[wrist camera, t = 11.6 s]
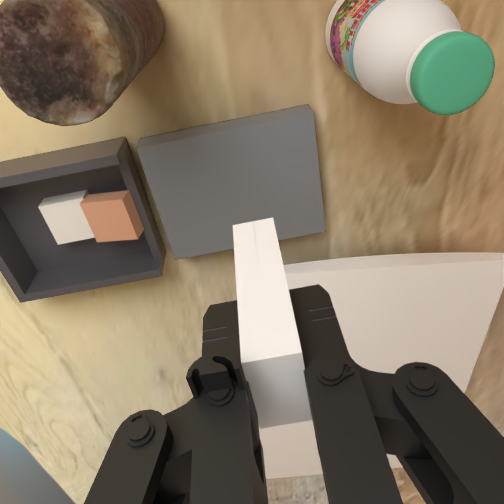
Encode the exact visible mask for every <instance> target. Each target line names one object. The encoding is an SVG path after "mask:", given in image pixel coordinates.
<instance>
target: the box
mask: <svg viewBox="0 0 504 504" xmlns="http://www.w3.org/2000/svg"><path fill="white" fill-rule="evenodd" d="M83 190H88V193H89V194H97V193H107V192H116V191H126V190H129V191H130V193H131V196H132V199H133V201H134V204H135V207H136V209H137V212H138V215H139V217H140V220H141V222H142V225H143V228H144V230H143V232H142V233H141V235H140V237H139V238H138V239H134V240H121V241H108V242H97V241H96V239H95V238H90V239H85V240H79V241H74V242H69V243H64V244H59V245H58V244H57V242H56V240H55V238H54V236H53V234H52V232H51V231H50V229H49V227H48V225H47V223H46V221H45V219H44V217H43V215H42V213H41V211H40V210H39V208H38V206H39V205H40V203H41V202H42V201H43V199H44V198H48V197H53V196H58V195H63V194H68V193H73V192H78V191H83ZM165 255H166V250H165V247H164V245H163V242H162V239H161V236H160V233H159V231H158V228H157V225H156V222H155V219H154V217H153V214H152V211H151V208H150V205H149V202H148V200H147V197H146V194H145V191H144V188H143V186H142V183H141V180H140V177H139V174H138V172H137V169H136V166H135V163H134V160H133V158H132V155H131V152H130V149H129V146H128V143H127V141H126V138H125V137H121V138H116V139H111V140H106V141H101V142H96V143H91V144H86V145H81V146H77V147H72V148H67V149H62V150H57V151H52V152H47V153H42V154H37V155H32V156H27V157H23V158H18V159H13V160H8V161H3V162H0V271H1V273H2V274H3V276H4V277H5V279H6V281H7V282H8V284H9V285H10V287H11V289H12V290H13V292H14V293H15V295H16V296H17V298H18V300H19V301H20V303H21V302H26V301H32V300H37V299H42V298H48V297H53V296H58V295H64V294H69V293H74V292H80V291H85V290H90V289H95V288H101V287H106V286H111V285H117V284H122V283H127V282H133V281H138V280H143V279H149V278H154V277H159V276H162V273H163V267H164V261H165Z"/></svg>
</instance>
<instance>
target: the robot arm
mask: <svg viewBox="0 0 504 504" xmlns="http://www.w3.org/2000/svg"><path fill="white" fill-rule="evenodd" d="M233 239H234V255H235V272H236V288H237V300H236V301H230V302H225V303H219V304H214V305H210V306H209V308H208V310H207V312H206V313H205V315H204V317H203V343H202V357H201V358H199V359H198V360H196V361H195V362H194V363H193V364H192V365H191V367H190V368H189V369H188V373H187V376H186V379H187V382H188V384H189V387H190V389H191V392H192V394H193V396H194V397H193V398H192V399H191V400H190V401H189V402H187V403H186V404H185V405H183V406H181V407H180V408H178V409H176V410H174V411H172V412H169V413H167V414H165V415H162V414H161V413H160V412H158V411H154V410H143V411H139V412H137V413H135V414H133V415H130V416H129V417H128V418H127V419H126V420H125V421H124V422H122V424H121V425H120V427H119V428H118V430H117V431H116V433H115V435H114V438H113V440H112V442H111V444H110V447H109V449H108V451H107V453H106V455H105V458H104V460H103V462H102V464H101V467H100V469H99V471H98V473H97V475H96V478H95V480H94V482H93V484H92V487H91V489H90V491H89V493H88V495H87V498H86V500H85V502H84V504H268V496H267V486H266V476H265V465H264V455H263V447H262V444H261V440H260V436H259V427H260V429H262V428H268V427H274V426H280V425H286V424H292V423H298V422H303V421H309V420H313V425H314V431H315V437H316V442H317V448H318V454H319V457H320V462H321V467H322V472H323V477H324V481H325V486H326V491H327V496H328V501H329V504H403V502H402V499H401V496H400V493H399V490H398V487H397V484H396V481H395V478H394V475H393V472H392V469H391V466H390V463H389V460H388V457H387V454H390V455H396V457H397V459H398V460H399V462H400V463H401V465H402V466H403V468H404V470H405V471H406V473H407V474H408V476H409V477H410V479H411V480H412V482H413V484H414V485H415V487H416V488H417V490H418V491H419V493H420V494H421V496H422V498H423V499H424V501H425V502H426V504H504V437H503V436H502V435H501V434H500V433H499V432H498V430H497V429H496V428H495V427H494V426H493V425H492V424H491V423H490V422H489V421H488V419H487V418H486V417H485V416H484V415H483V414H482V413H481V412H480V411H479V409H478V408H477V407H476V406H475V405H474V404H473V403H472V402H471V401H470V399H469V398H468V397H467V396H466V395H465V394H464V393H463V392H462V391H461V390H460V388H459V387H458V386H457V385H456V384H455V383H454V382H453V381H452V380H451V378H450V377H449V376H448V375H447V374H446V373H445V372H443V371H442V370H441V369H440V368H438V367H436V366H434V365H431V364H429V363H424V362H412V363H407V364H404V365H403V366H401V367H400V368H398V369H397V370H396V372H395V374H392V373H382V372H375V371H370V370H368V369H365V368H363V367H361V366H360V365H358V364H357V363H356V362H355V361H354V360H353V359H352V358H351V356H350V354H349V352H348V349H347V346H346V343H345V340H344V337H343V334H342V331H341V328H340V325H339V322H338V319H337V317H336V313H335V310H334V308H333V304H332V301H331V298H330V295H329V293H328V292H327V291H326V290H325V289H324V288H323V287H322V286H320V285H319V284H317V285H311V286H306V287H301V288H295V289H290V290H289V289H288V285H287V280H286V275H285V271H284V266H283V262H282V257H281V252H280V248H279V243H278V238H277V234H276V229H275V224H274V220H273V218H268V219H262V220H257V221H252V222H247V223H242V224H236V225H233Z"/></svg>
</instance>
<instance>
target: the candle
mask: <svg viewBox="0 0 504 504" xmlns="http://www.w3.org/2000/svg"><path fill="white" fill-rule="evenodd" d="M163 33H164V20H163V14H162V11H161V8H160V6H159V5H158V2H157V0H4V1H3V3H2V4H1V5H0V87H1V88H2V90H3V91H4V92H5V94H6V95H7V97H8V98H9V99H10V100H11V101H12V102H13V103H14V104H15V105H16V106H17V107H18V108H20V109H21V110H22V111H24V112H25V113H26V114H27V115H28V116H31V117H34V118H36V119H39V120H40V121H43V122H45V123H50V124H55V125H60V126H71V125H79V124H83V123H87V122H90V121H92V120H94V119H96V118H98V117H100V116H101V115H102V114H104V113H105V112H106V111H107V110H108V109H109V108H110V107H111V106H112V105H113V103H114V102H115V101H116V100H117V99H118V98H119V96H120V95H121V94H122V92H123V91H124V90H125V89H126V88H127V86H128V85H129V84H130V82H131V81H132V80H133V79H134V78H135V77H136V75H137V74H138V73H139V71H140V70H141V69H142V68H143V67H144V66H145V65H146V63H147V62H148V61H149V60H150V59H151V58H152V57H153V55H154V54H155V53H156V51H157V50H158V48H159V46H160V44H161V41H162V38H163Z"/></svg>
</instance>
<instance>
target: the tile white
mask: <svg viewBox="0 0 504 504" xmlns="http://www.w3.org/2000/svg"><path fill="white" fill-rule="evenodd" d="M88 194H89V193H88V190H83V191H78V192H73V193H68V194H63V195H58V196H53V197H48V198H44V199H43V201H42V202H41V203H40V205H39V206H38V208H39V210H40V211H41V213H42V215H43V217H44V219H45V221H46V223H47V225H48V227H49V229H50V231H51V232H52V234H53V236H54V238H55V240H56V242H57V244H58V245H59V244H64V243H69V242H74V241H79V240H85V239H90V238H95V237H94V234H93V232H92V230H91V228H90V226H89V224H88V221H87V219H86V217H85V215H84V213H83V210H82V208H81V206H80V204H79V203H80V202H81V201H82V200H83V199H84V198H85V197H86V196H87V195H88Z"/></svg>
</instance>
